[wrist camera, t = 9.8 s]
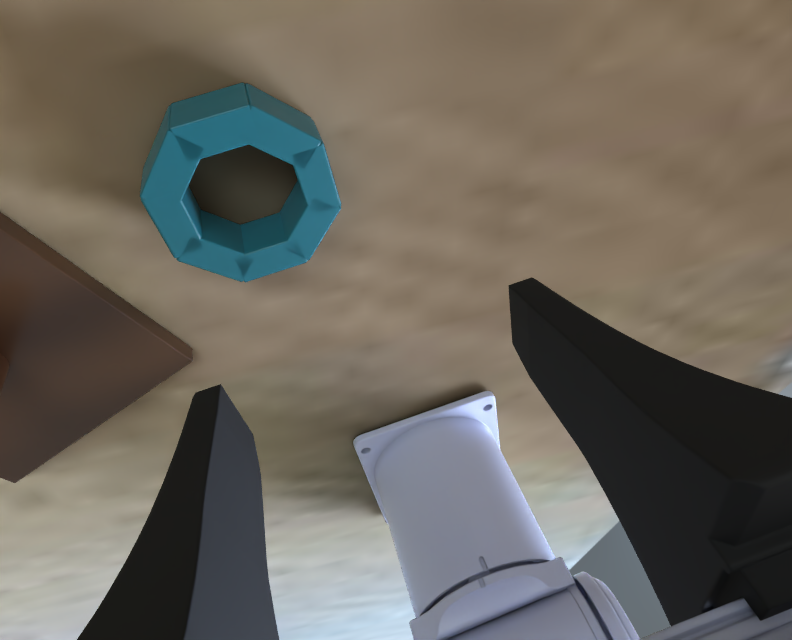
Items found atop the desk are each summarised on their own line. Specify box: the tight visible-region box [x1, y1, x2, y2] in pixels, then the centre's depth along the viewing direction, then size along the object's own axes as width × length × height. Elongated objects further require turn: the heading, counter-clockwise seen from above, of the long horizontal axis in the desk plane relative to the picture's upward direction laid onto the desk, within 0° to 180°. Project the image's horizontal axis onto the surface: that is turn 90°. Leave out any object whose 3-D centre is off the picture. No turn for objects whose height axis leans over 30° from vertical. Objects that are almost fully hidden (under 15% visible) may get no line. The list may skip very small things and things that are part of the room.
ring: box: [140, 83, 341, 282], centre depth 18 cm, size 6×6×2 cm
